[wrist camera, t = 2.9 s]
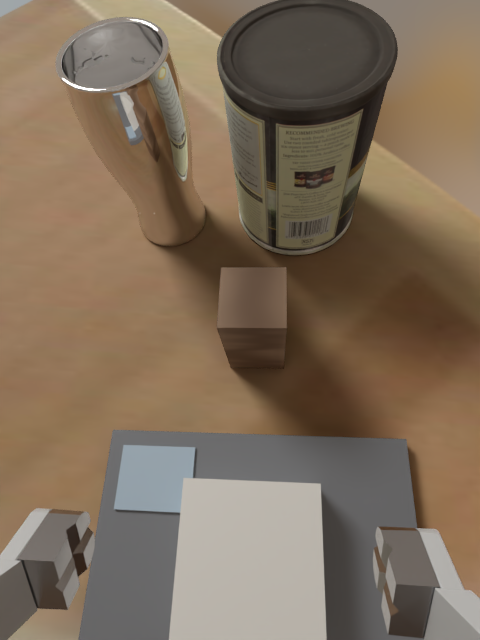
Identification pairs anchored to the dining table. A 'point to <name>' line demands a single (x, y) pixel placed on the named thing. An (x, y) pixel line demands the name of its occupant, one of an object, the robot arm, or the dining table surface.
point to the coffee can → (303, 115)
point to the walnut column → (253, 316)
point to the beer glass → (136, 121)
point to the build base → (265, 457)
